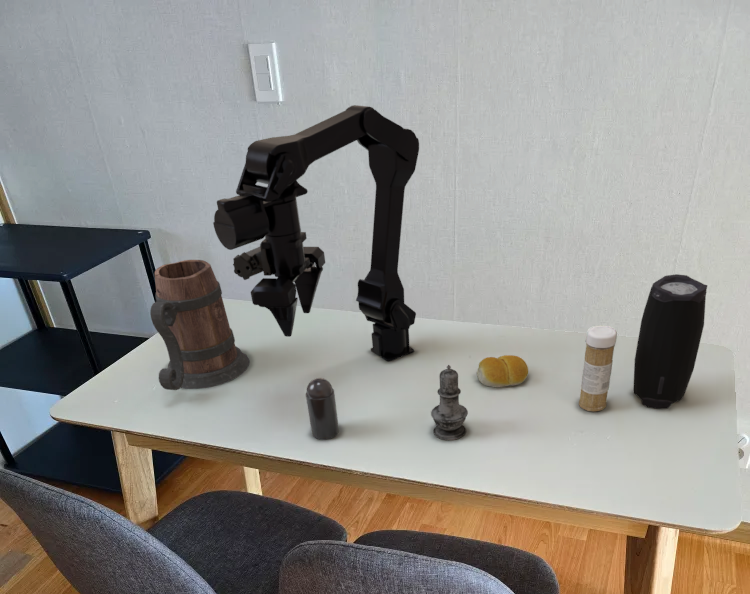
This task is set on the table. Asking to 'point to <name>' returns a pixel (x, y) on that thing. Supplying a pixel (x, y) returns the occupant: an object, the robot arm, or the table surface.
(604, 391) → the sprinkles bottle
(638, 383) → the portable speaker
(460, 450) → the table surface
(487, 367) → the bread roll
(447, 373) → the grey turned piece
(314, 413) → the pepper pot
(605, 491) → the table surface
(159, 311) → the tankard
